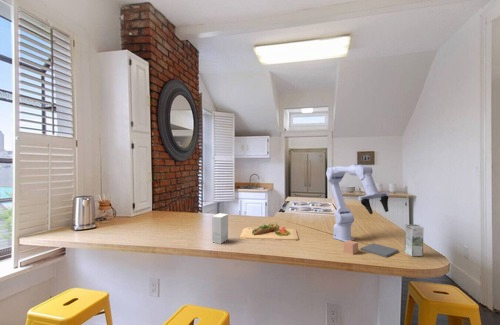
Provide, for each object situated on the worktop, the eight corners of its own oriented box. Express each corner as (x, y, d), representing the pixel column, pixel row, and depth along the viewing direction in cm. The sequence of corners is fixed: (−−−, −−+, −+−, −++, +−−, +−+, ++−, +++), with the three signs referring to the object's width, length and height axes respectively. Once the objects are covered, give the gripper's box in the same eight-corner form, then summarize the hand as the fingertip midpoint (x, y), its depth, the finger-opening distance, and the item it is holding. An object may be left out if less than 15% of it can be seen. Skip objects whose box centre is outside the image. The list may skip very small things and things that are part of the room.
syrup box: (415, 252, 127) (415, 223, 127) (423, 256, 121) (423, 226, 121) (404, 252, 127) (404, 224, 127) (412, 257, 121) (412, 227, 121)
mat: (360, 249, 131) (360, 248, 131) (373, 245, 139) (373, 243, 139) (386, 257, 121) (386, 255, 121) (398, 251, 128) (398, 249, 128)
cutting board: (295, 231, 170) (295, 220, 170) (298, 242, 147) (298, 229, 147) (244, 230, 173) (243, 219, 173) (239, 240, 150) (239, 227, 150)
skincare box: (219, 238, 151) (219, 213, 151) (229, 240, 148) (228, 213, 148) (211, 242, 144) (211, 215, 144) (221, 244, 141) (221, 216, 141)
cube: (343, 251, 129) (343, 241, 129) (349, 249, 132) (349, 240, 132) (352, 254, 125) (352, 244, 125) (358, 252, 128) (358, 242, 128)
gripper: (358, 186, 126) (367, 212, 120) (386, 181, 126) (397, 208, 119) (354, 191, 132) (362, 216, 126) (381, 186, 132) (391, 212, 126)
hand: (379, 212), depth 123 cm, fingers open, 7 cm apart
